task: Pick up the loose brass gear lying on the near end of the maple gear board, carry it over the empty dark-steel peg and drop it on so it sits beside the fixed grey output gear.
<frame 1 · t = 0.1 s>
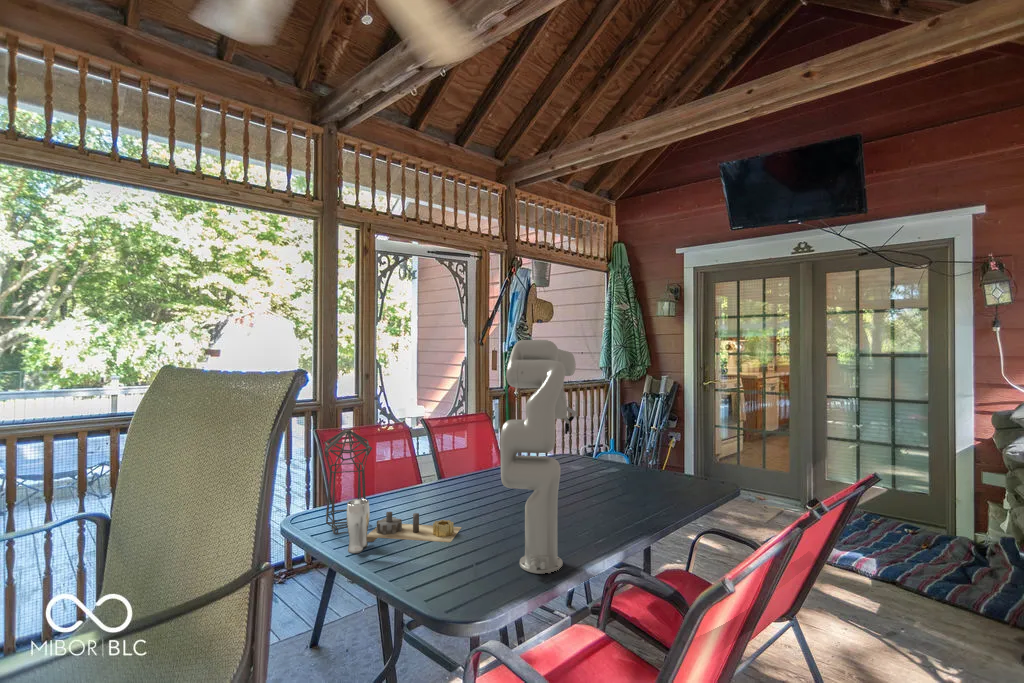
hand: (553, 433, 196), 31 cm above the table, fingers open, 9 cm apart
geometric lantern: (346, 530, 180), on the table
gear board: (414, 536, 174), on the table
beer glass: (358, 550, 162), on the table
brass gear: (443, 533, 172), point 1 cm above the table, touching gear board
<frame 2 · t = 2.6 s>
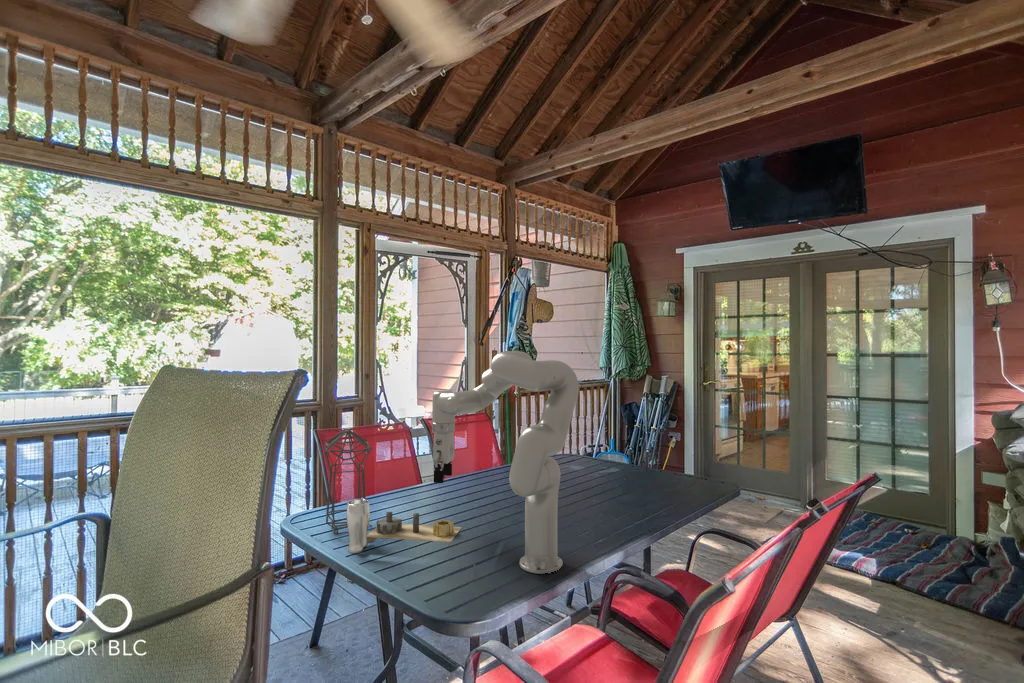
hand: (443, 478, 173), 20 cm above the table, fingers open, 9 cm apart
nothing on the table moved.
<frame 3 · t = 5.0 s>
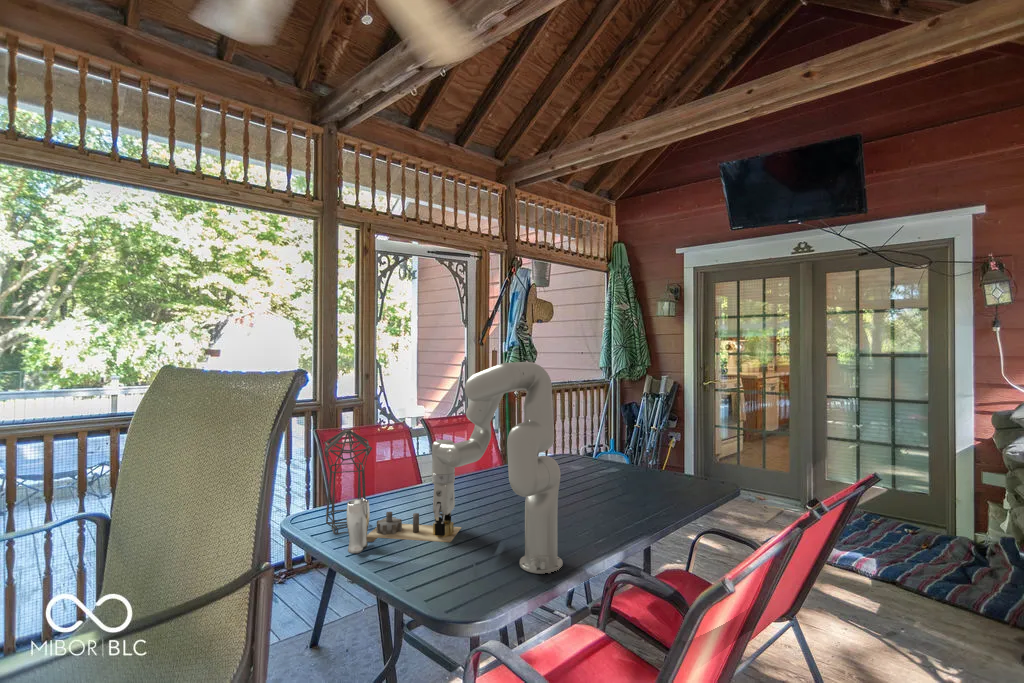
hand: (443, 530, 172), 2 cm above the table, fingers closed on brass gear, 6 cm apart
brass gear: (443, 533, 172), point 1 cm above the table, touching gear board, gripper
everything else where it was.
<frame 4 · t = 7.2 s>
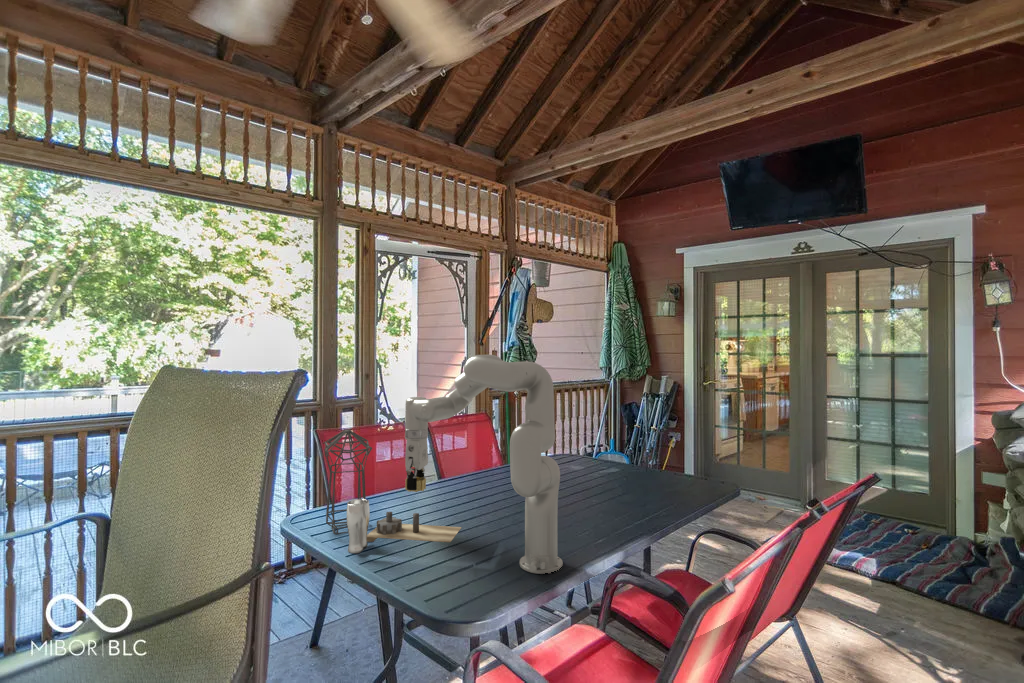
hand: (415, 486, 174), 17 cm above the table, fingers closed on brass gear, 6 cm apart
brass gear: (415, 489, 174), point 16 cm above the table, touching gripper
everything else where it was.
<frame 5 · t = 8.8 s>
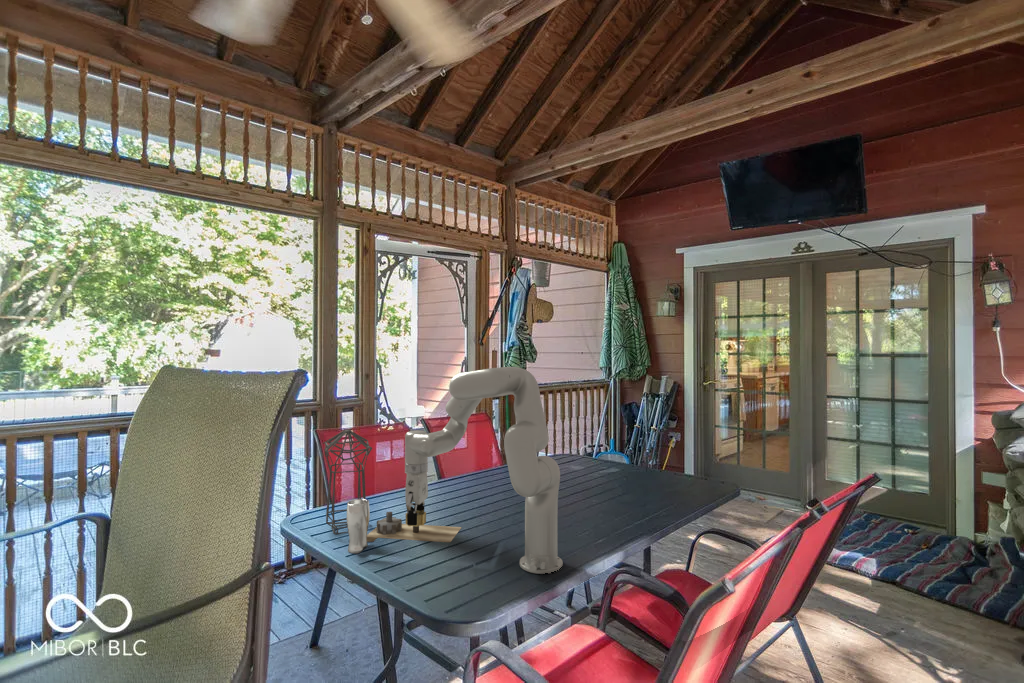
hand: (415, 520, 174), 5 cm above the table, fingers closed on brass gear, 6 cm apart
brass gear: (415, 523, 174), point 4 cm above the table, touching gripper
everything else where it was.
when the fingers open (5 cm above the table, at t = 9.8 s): brass gear drops 2 cm, resting on gear board.
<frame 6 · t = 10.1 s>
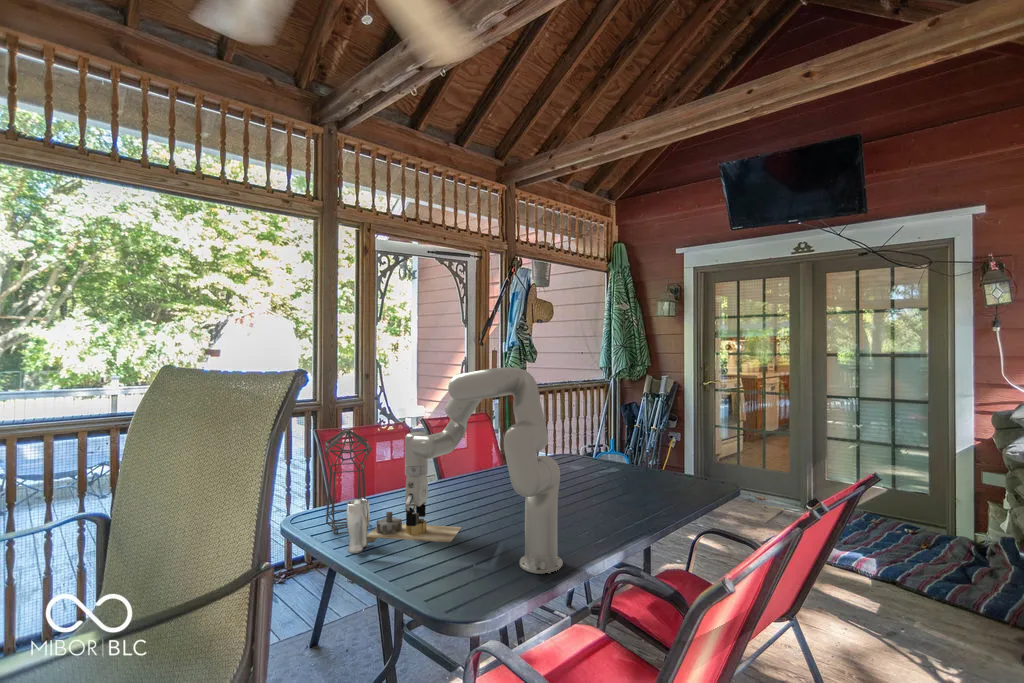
hand: (416, 520, 174), 5 cm above the table, fingers open, 9 cm apart
brass gear: (416, 531, 174), point 1 cm above the table, touching gear board
everything else where it was.
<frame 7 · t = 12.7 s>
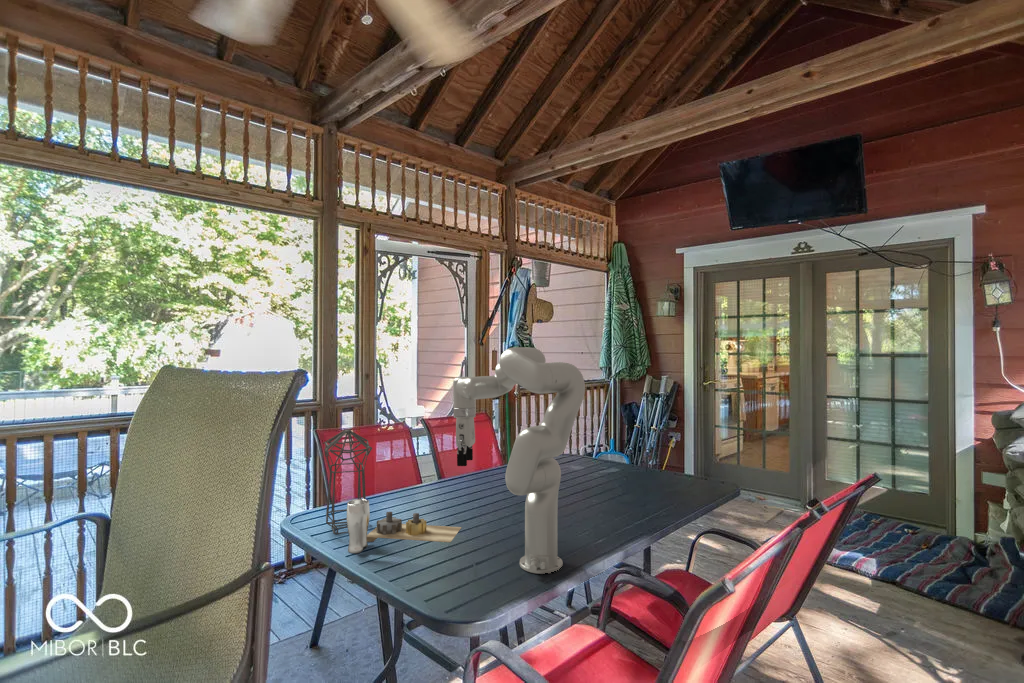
hand: (465, 462, 177), 24 cm above the table, fingers open, 9 cm apart
nothing on the table moved.
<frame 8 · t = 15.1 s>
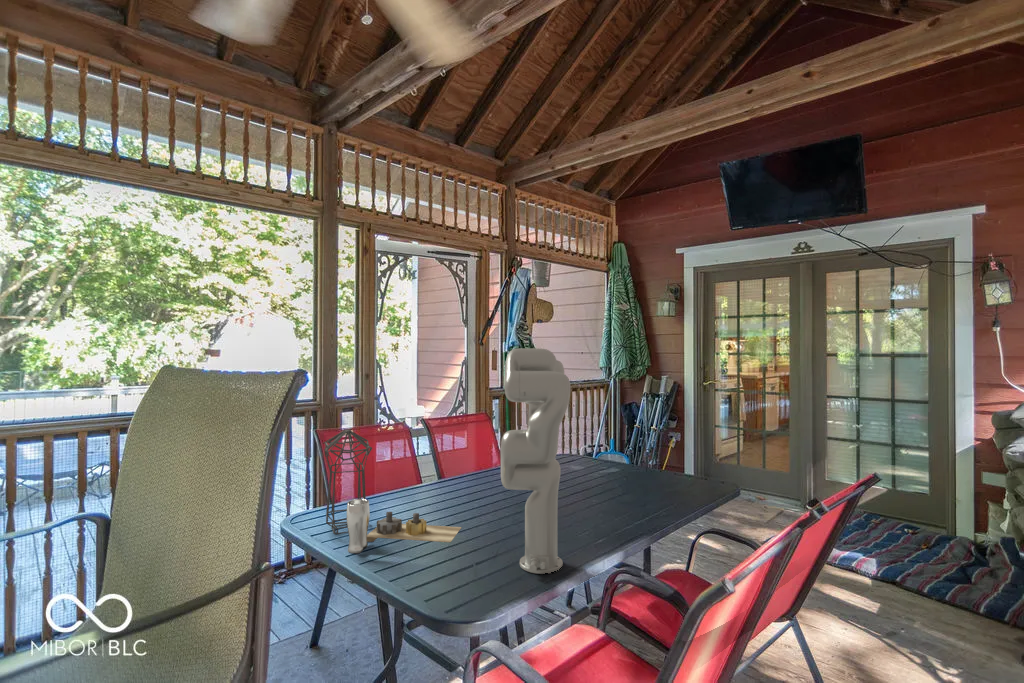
hand: (536, 448, 182), 28 cm above the table, fingers open, 9 cm apart
nothing on the table moved.
at the end: brass gear 0.1 cm off-centre on the gear board, point 1.5 cm above the gear board's base; the gripper is holding nothing; brass gear tilted 0° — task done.
